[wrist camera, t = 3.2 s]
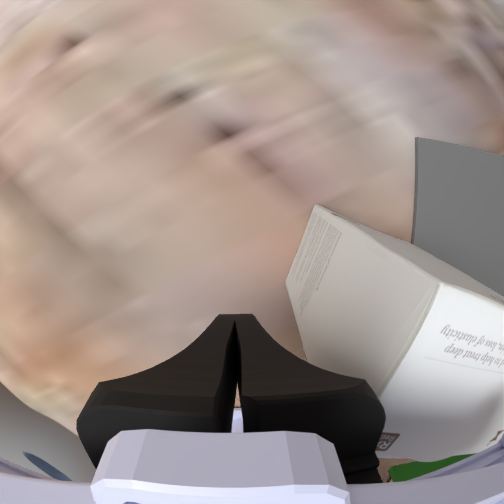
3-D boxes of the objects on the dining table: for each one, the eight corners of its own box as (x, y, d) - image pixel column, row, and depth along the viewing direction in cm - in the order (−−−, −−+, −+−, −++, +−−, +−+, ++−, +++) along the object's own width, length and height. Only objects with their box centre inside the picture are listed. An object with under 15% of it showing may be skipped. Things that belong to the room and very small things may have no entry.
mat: (509, 338, 24) (511, 339, 23) (390, 365, 23) (392, 367, 23) (536, 166, 19) (539, 166, 19) (415, 137, 19) (418, 137, 18)
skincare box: (410, 242, 21) (574, 330, 6) (378, 316, 22) (494, 456, 8) (307, 200, 20) (455, 269, 5) (275, 286, 21) (331, 472, 7)
